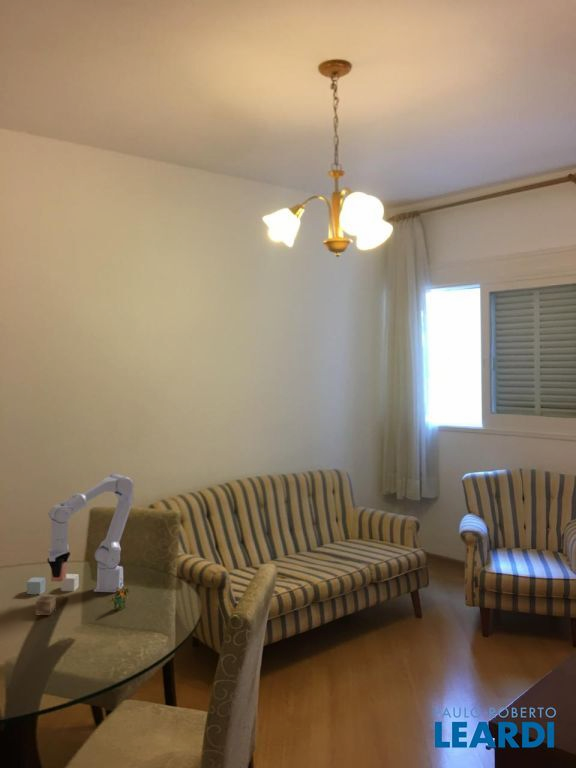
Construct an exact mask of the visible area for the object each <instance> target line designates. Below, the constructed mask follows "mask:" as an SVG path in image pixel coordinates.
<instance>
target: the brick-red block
mask: <svg viewBox="0 0 576 768" xmlns="http://www.w3.org/2000/svg"><path fill="white" fill-rule="evenodd" d="M66 574H67V563H66V562H63V563H62V566H61V573H60V577H53V574H52V570H51V569H50V577H51V578H50V580H51V582H56V583H57V582H58V583H59V582H60V583H61V582H62V581H63V580H64V579H65V578H66Z"/></svg>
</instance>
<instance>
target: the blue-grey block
mask: <svg viewBox="0 0 576 768" xmlns="http://www.w3.org/2000/svg"><path fill="white" fill-rule="evenodd" d="M46 579H47V578H46V577H31V578H30V579H29V580H27V581H26V595H27V594H41V593H42V594H43V593H44V592H45V591H46ZM42 594H41V595H42Z"/></svg>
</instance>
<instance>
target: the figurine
mask: <svg viewBox="0 0 576 768" xmlns="http://www.w3.org/2000/svg"><path fill="white" fill-rule="evenodd" d="M123 587H124V586H123ZM117 589H119V591H115V592H114V593H116V594H114V595H113V596H112V597H111V598H110V599H109V600H108V601H107V603H113V604H114V606H113V607H114V610H118V612H119V611H122V609H121V608H120V607H123V608H126V605H125V603H126V601H127V600H128V599H129V597H128V594H129V593H130V590H129V588H128V587H126V586H125V587H124V588H123V589H122V590H121V589H120V588H118V587H117V588H116V590H117ZM117 605H118V606H117ZM116 606H117V607H116Z"/></svg>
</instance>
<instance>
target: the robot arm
mask: <svg viewBox="0 0 576 768" xmlns="http://www.w3.org/2000/svg"><path fill="white" fill-rule="evenodd" d="M134 487H135V484H134V482H133V481H132V479H131V478H130V477H128V476H124V475H121V474H118V473H111V474H110V475H108V476H106V477H105V478H103V480H101V481H100V482H98V483H97V484H96V485H94V486H93V487H91V488H90V489H88V490H86V491H85V492H83V493H79V492H78V493H72V495H71V496H70V498H68V499H66V500H64V501H63V500H62V501H61V502H60V504H54V505H53V506H51V508H50V510H49V511H48V513H47V514H48V518H49V519H50V524H51V525H50V548H49V549H47V553H49V556H48V558H47V561H46V562H47V563H48V565H49V566H50V571H51V570H52V574H53V577H60V573H61V566H62V563H63V562H66V564H67V562H68V559H69V557H70V556H71V552H70V551H69V549H70V548H69V544H68V535H69V534H68V530H69V529H68V527H69V526H68V525H69V524H68V521H69V520H70V519H71V517H72V516H73V515H74V514H76V513H77V512H79V511H81V510H82V509H84V508H86V507H87V505H88V502H90V501H91V500H93V499H95V498H97V497H98V496H100V495H102V494H104V493H107V492H108V493H109V492H110V493H114V495H115V496H116V498H117V500H118V501H117V504H116V507H115V510H114V512H113V516H112V518H111V522H110V524H109V528H108V531H107V534H106V536H105V539H104V540H102V541H101V542H100V543H99V544H100V545H99V546H98V548H97V549H96V550H95V552H94V559H95V561H97V568H96V569H97V572H96V573H97V575H96V576H97V579H96V581H97V582H96V587H95V588H94V589H93V592H94V593H98V592H99V593H116V592H115V591H119V589H117V590H116V588H117V587H118V588H120V590H121V589H122V588H123V587H124V567H123V566H120V565H119V564H120V561H121V551H122V548H121V545H120V542H121V539H122V535H123V532H124V530H125V527H126V524H127V521H128V518H129V515H130V512H131V508H132V505H133V503H134V500H135V499H134V498H135V495H134Z"/></svg>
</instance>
